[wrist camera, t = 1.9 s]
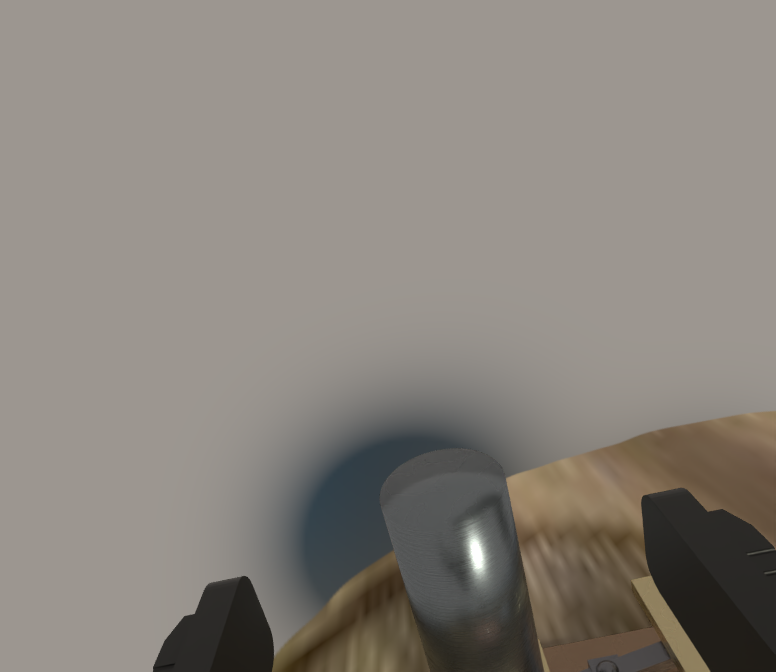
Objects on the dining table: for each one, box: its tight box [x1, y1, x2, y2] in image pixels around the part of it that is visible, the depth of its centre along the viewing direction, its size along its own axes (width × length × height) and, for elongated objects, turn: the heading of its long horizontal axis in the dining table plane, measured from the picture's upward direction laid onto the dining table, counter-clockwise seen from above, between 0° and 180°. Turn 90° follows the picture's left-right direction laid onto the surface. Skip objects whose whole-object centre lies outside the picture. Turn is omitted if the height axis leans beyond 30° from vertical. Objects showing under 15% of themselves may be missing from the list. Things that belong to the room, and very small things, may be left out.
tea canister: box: [380, 448, 544, 672], centre depth 25 cm, size 6×6×14 cm
